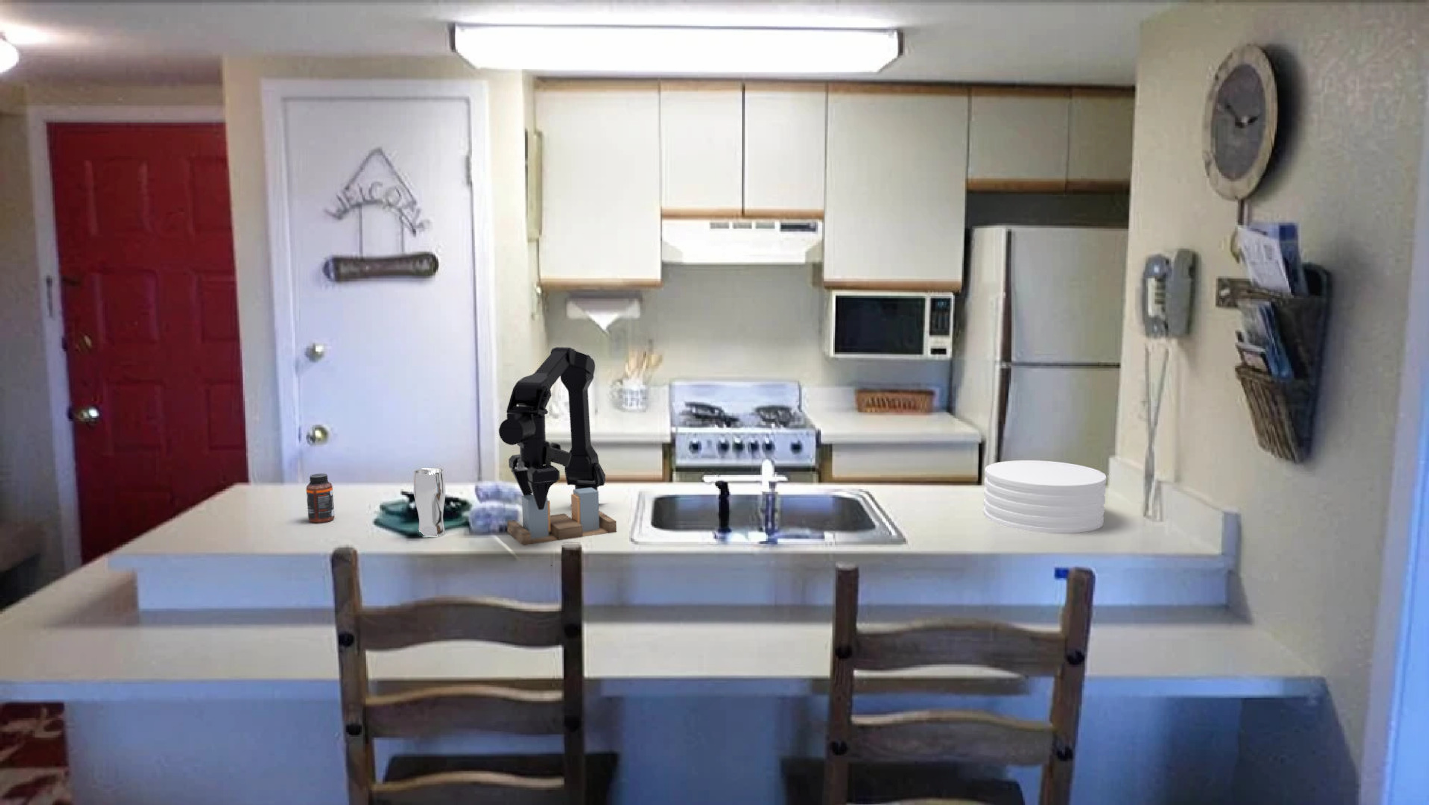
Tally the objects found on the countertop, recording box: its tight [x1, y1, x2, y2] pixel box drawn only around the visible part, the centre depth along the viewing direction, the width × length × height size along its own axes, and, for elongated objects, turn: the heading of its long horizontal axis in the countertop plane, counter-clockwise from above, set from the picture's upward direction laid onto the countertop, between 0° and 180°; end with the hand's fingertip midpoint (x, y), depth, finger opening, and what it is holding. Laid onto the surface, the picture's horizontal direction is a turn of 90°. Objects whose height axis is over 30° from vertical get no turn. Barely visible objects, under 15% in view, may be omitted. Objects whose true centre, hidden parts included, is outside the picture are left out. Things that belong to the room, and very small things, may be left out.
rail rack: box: [506, 510, 617, 546], centre depth 224 cm, size 12×22×4 cm, turn 118°
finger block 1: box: [521, 494, 551, 539], centre depth 220 cm, size 4×5×9 cm
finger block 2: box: [570, 488, 600, 532], centre depth 226 cm, size 4×5×9 cm
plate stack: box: [982, 459, 1107, 534], centre depth 239 cm, size 28×28×12 cm
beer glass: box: [413, 467, 446, 537], centre depth 225 cm, size 7×7×15 cm
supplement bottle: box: [305, 473, 335, 524], centre depth 237 cm, size 6×6×11 cm
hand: (534, 504), depth 220 cm, fingers open, 9 cm apart
